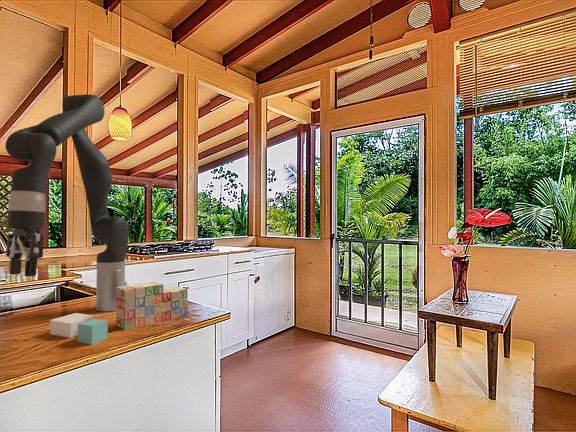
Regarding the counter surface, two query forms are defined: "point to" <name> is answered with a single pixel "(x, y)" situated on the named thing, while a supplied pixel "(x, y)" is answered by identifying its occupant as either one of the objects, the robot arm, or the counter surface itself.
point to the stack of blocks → (149, 304)
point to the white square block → (68, 324)
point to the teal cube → (92, 331)
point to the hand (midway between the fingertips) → (22, 275)
